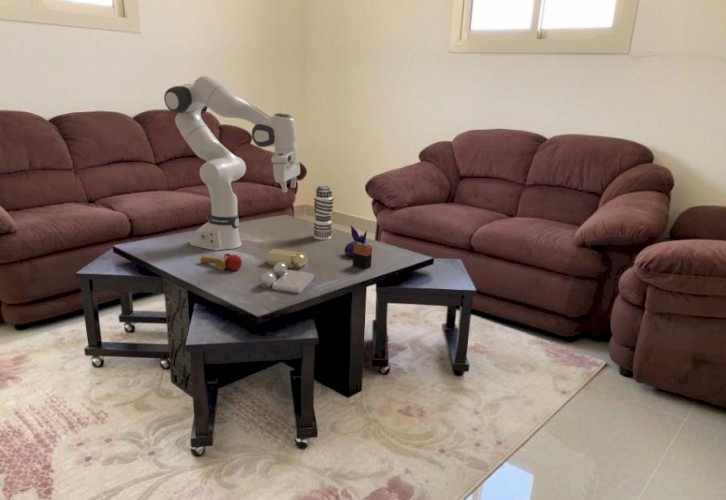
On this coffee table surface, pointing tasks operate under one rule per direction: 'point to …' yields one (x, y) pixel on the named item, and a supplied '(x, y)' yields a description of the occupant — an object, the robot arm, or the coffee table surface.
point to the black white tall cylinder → (323, 212)
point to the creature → (354, 241)
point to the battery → (362, 255)
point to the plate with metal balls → (285, 279)
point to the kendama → (224, 261)
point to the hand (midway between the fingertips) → (289, 189)
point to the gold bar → (287, 258)
